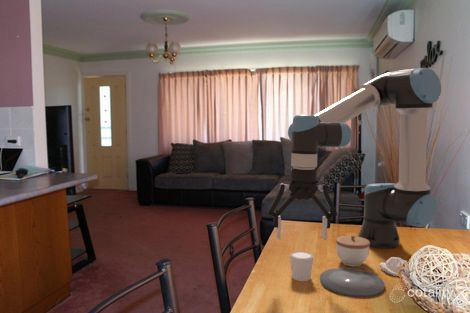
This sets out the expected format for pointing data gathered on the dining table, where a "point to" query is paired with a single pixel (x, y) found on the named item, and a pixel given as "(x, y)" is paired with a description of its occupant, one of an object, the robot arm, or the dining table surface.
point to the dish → (352, 282)
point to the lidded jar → (352, 249)
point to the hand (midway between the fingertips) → (301, 238)
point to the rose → (392, 265)
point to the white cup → (301, 265)
